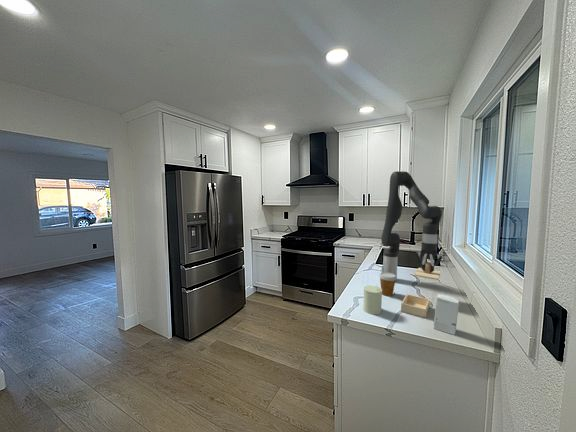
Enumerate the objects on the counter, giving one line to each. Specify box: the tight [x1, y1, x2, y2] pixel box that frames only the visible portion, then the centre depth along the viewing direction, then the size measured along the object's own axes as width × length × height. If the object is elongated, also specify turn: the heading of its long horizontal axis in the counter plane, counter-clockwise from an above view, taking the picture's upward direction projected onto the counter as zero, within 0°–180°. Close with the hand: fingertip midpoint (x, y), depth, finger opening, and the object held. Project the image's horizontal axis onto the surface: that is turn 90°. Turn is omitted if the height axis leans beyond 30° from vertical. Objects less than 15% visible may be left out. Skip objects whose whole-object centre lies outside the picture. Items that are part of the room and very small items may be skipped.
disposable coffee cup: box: [379, 272, 396, 297], centre depth 143 cm, size 10×10×12 cm
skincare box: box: [433, 293, 460, 336], centre depth 106 cm, size 8×6×15 cm
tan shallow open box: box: [400, 293, 430, 319], centre depth 125 cm, size 11×14×4 cm
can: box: [362, 285, 383, 315], centre depth 124 cm, size 9×9×12 cm
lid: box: [413, 261, 441, 281], centre depth 135 cm, size 11×14×7 cm
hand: (427, 271), depth 135 cm, fingers closed on lid, 3 cm apart
